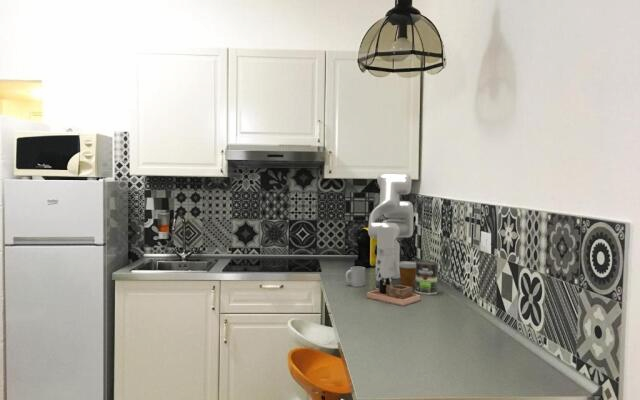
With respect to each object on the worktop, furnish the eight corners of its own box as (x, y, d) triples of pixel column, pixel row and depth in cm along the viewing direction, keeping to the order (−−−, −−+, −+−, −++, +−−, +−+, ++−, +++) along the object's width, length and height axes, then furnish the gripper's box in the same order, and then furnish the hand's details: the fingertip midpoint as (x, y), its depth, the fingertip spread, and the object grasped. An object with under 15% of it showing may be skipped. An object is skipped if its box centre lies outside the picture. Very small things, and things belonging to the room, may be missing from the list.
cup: (366, 286, 232) (366, 268, 232) (347, 287, 230) (347, 269, 230) (362, 283, 239) (362, 266, 239) (343, 284, 237) (343, 266, 237)
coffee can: (436, 295, 215) (436, 265, 214) (413, 293, 218) (414, 263, 218) (438, 290, 224) (439, 261, 224) (416, 288, 228) (417, 260, 227)
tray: (384, 293, 218) (384, 287, 218) (420, 300, 205) (420, 294, 205) (366, 298, 209) (366, 292, 208) (403, 306, 195) (403, 300, 195)
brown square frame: (412, 296, 205) (412, 287, 204) (402, 299, 199) (402, 290, 199) (386, 291, 214) (386, 282, 214) (375, 293, 208) (375, 285, 208)
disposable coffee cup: (420, 286, 234) (421, 262, 233) (410, 289, 226) (411, 264, 226) (404, 283, 240) (404, 260, 239) (394, 286, 233) (394, 262, 232)
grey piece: (377, 287, 230) (377, 270, 230) (384, 288, 227) (384, 271, 227) (372, 288, 227) (372, 271, 227) (379, 290, 224) (379, 272, 224)
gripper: (381, 254, 201) (381, 297, 201) (402, 251, 212) (402, 291, 213) (367, 253, 206) (367, 294, 206) (389, 249, 218) (388, 288, 218)
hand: (384, 292), depth 210 cm, fingers closed on brown square frame, 2 cm apart
